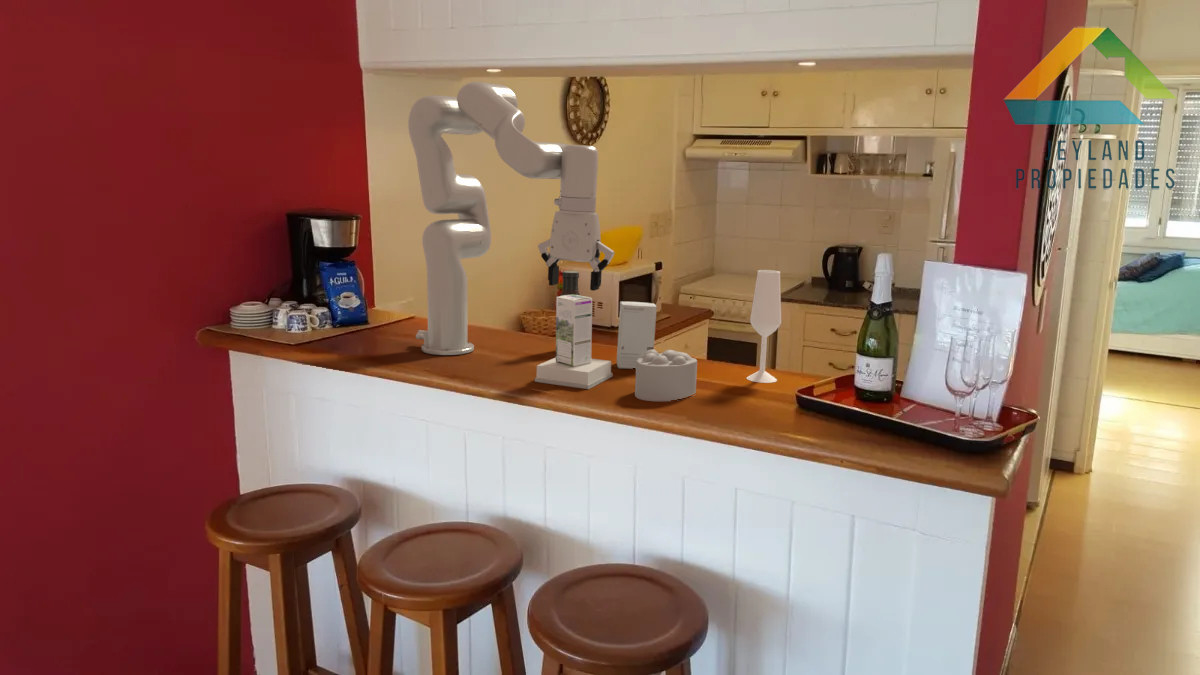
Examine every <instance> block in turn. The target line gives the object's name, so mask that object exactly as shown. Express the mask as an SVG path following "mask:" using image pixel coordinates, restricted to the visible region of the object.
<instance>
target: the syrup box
mask: <svg viewBox="0 0 1200 675" xmlns="http://www.w3.org/2000/svg"><path fill="white" fill-rule="evenodd" d="M555 302H556V304H555V307H556V309H555V358H556V362H558V363H562V364H565V365H569V366H581V365H585V364H589V363H591V359H592V339H593V338H592V337H593V336H592V332H593V327H592V326H593V325H592V324H593V298H592V297H590V296H584V295H580V296H579V295H563V296H559V295H558V296H556V301H555Z"/></svg>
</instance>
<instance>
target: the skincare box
mask: <svg viewBox="0 0 1200 675" xmlns="http://www.w3.org/2000/svg"><path fill="white" fill-rule="evenodd" d="M618 317H619V318H618V332H617V333H618V334H617V351H616V365H617V369H627V370H629V369H630V370H631V369H632V370H633V368H635V370H636V361H637V360H638V359H639V358H640V357H641V356H644V354H645V352H646V351H648V350H651V349H654V350H655V348H654V347H655V334H656V322H657V320H656V319H657V305H656V304H655V303H654V302H642V301H641V302H640V301H620V302H619V316H618Z"/></svg>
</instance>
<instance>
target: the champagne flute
mask: <svg viewBox="0 0 1200 675" xmlns="http://www.w3.org/2000/svg"><path fill="white" fill-rule="evenodd" d="M781 296H782V295H781V271H778V270H774V269H773V270H772V269H771V270H770V269H759V270H757V273H756V280H755V287H754V293H753V298H752V299H753V300H752V306H751V310H750V311H751V312H750V319H749V321H750V322H749V323H750V324H751V326H752V328H753V329H754V331H755V332H756V333H757V334H758V335H760V336H761V340H760V341H761V342H760V343H761V346H760V358H759V360H760V361H759V370H757V371H756V372H754V373H752V374H750V375H748V376H747V377H746V379H747V380H748V381H751V382H755V383H761V384H763V383H765V384H769V383H770V384H771V383H776V382H778V379H777V378H776V377H775V376H773V375H772V374H770V373H769V372H767V371H766V361H767V360H766V359H767V345H768V337H769V336H771V335H772V334H773V333H775V332H776V331H777V330H778V328H780V326H781V324H782V304H781V303H782V302H781V301H782V298H781Z"/></svg>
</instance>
